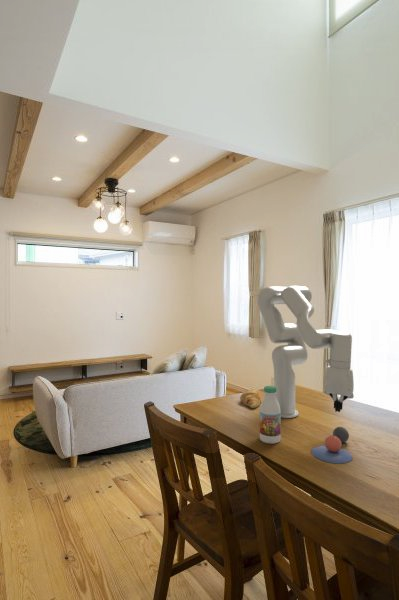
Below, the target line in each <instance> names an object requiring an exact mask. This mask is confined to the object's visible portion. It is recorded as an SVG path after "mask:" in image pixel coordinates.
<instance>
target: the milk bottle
mask: <svg viewBox="0 0 399 600" xmlns="http://www.w3.org/2000/svg"><path fill="white" fill-rule="evenodd" d="M263 393H264V397H263V399H262V401H261V403H260V409H259V440H260V441H261V442H262V443H265V444H270V445H271V444H272V445H273V444H278V443H280V442H281V429H282V428H281V426H282V425H281V423H282V421H281V418H282V417H281V413H280V406H279V403H278V401H277V398H276V387H274V385H273V386H272V385H266V386H264V388H263Z"/></svg>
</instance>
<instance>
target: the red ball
mask: <svg viewBox="0 0 399 600" xmlns="http://www.w3.org/2000/svg"><path fill="white" fill-rule="evenodd" d="M324 439H325V440H324V446H326V448H327V449H328V450H329V451H331V452H338V451H339V450H340V449H342V443H341V441H340V439H339V438H338V437H336V436H334V435H333V434H331V435H327V436H326V438H324Z"/></svg>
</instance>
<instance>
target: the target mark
mask: <svg viewBox="0 0 399 600" xmlns="http://www.w3.org/2000/svg"><path fill="white" fill-rule="evenodd" d="M311 454H312V456H313V457H315V458H316V459H317V460H320V461H322V462H325V463H329V464H334V465H335V464H337V465H339V464H341V465H342V464H343V465H344V464H347V463H350V462H352V460H353V455H352V453H350V452H349V451H347V450H346V449H343V448H341V449H340V450H339V451H338V452H331V451H329V450H328V449H327V448H326V446H325V445H320V446H315V447H313V448H312V449H311Z"/></svg>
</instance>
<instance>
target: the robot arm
mask: <svg viewBox="0 0 399 600" xmlns="http://www.w3.org/2000/svg"><path fill="white" fill-rule="evenodd" d="M312 297H313V295H312V292H311V290H310V289H309V288H308V287H306V286H303V285H302V286H301V285H300V286H299V285H289V286H265V287H263V288H261V289H260V291H259V292H258V294H257V300H256V301H257V307H258V309H259V312H260V313H261V316H262V318H263V321H264V325H265V328H266V332H267V335H268V338H269V340H270V342H271V343H273V344H279V346H276V347H275V348H273V350H272V353H271V360H272V365H273V386H274V387H276V398H277V401H278V403H279V406H280V413H281V418H283V419H292V418H296V417H298V416H299V414H300V413H299V411H298V410H297V409H296V374H295V371H294V369H293V366H296V365H302V364H305V363H306V362H307V361H308V357H309V356H308V355H309V354H308V350H307V347H306V345H307V346H308V347H309V348H310V349H312V350H320V349H321V350H322V349H330V350H329V352H330V353H329V358H328V359H326V360H325V363H326V364H328V366H327V367H326V372H325V376H324V377H325V378H324V391H323V393H324V394H325V395H327V396H330V397H331V399H332V400H333V409H334V412H338V413H340V412H341V410H343V407H344V406H343V402H344V401H345V400H347V399H349V400H351V399H353V398H354V397H355V396H354V372H353V368H351V366H352V365H351V364H352V363H351V362H352V361H351V360H352V345H353V343H352V342H353V338H352V335H351V333H348V332H342V331H338V330H334V329H330V328H329V329H316V328H314V326H313V325H312V324H311V322H310V320H309V319H311V318H312V316H313V314H314V313H315V308H314V306H313V305H312V304H311V303H310V302H311V301H312ZM275 305H286V306H287V308H288V309H289V311H290V312H291V313H292V314H293V316H294V317H295V319H296V324H295V323H292V322H285V321H284V319H283V317H282V314H281V312H280V310H279V309H278V308H277V307H276V306H275ZM280 344H285V345H280ZM338 396H340V397H339V398H338Z"/></svg>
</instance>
